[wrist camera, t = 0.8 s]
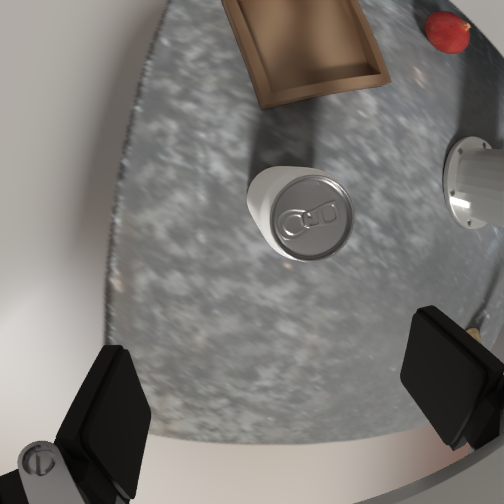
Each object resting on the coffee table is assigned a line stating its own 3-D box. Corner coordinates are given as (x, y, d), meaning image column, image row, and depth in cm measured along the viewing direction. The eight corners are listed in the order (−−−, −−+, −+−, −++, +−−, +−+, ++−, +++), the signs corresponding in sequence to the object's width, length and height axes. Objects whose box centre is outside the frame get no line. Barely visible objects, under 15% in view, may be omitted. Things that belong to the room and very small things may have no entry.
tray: (337, -14, 23) (345, -24, 21) (380, 86, 27) (391, 82, 25) (220, 0, 23) (221, -11, 21) (261, 110, 27) (264, 105, 25)
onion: (410, 14, 24) (446, -7, 17) (443, 30, 25) (480, 15, 17) (414, 50, 26) (454, 33, 18) (447, 65, 27) (488, 54, 19)
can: (238, 176, 29) (249, 184, 17) (300, 158, 29) (348, 157, 18) (256, 237, 31) (278, 281, 19) (316, 219, 31) (367, 251, 19)
